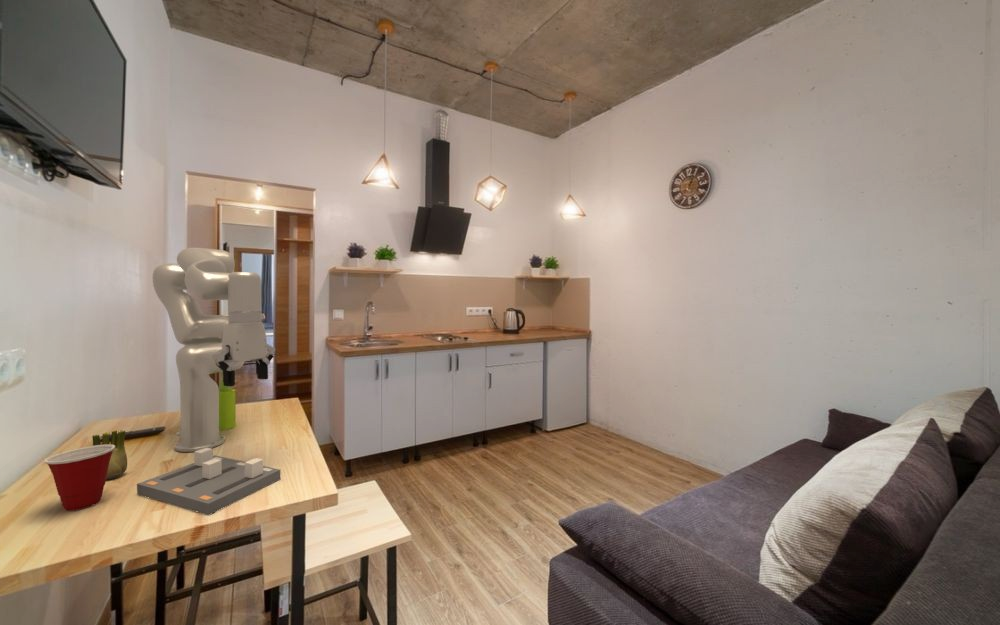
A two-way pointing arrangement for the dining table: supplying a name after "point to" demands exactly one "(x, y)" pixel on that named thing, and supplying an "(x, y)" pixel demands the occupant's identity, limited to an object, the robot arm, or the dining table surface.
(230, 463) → the switch panel
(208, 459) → the left switch
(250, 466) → the right switch
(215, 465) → the switch
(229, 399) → the soap dispenser
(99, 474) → the plastic cup
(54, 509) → the dining table surface
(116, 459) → the fennel bulb
